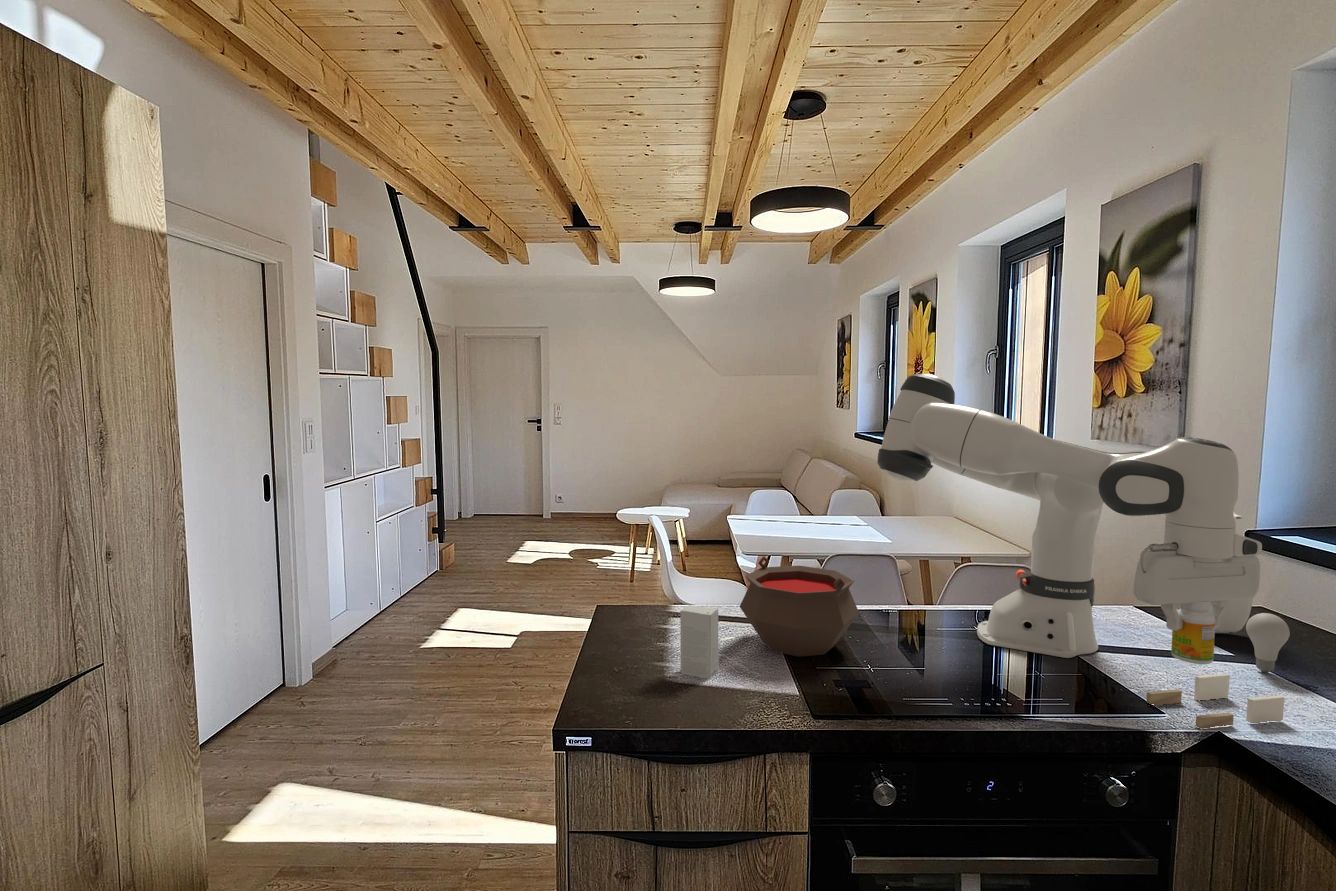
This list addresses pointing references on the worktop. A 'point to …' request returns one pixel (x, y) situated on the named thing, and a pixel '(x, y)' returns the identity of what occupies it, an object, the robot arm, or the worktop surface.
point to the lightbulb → (1267, 638)
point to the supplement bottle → (1195, 634)
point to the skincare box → (699, 641)
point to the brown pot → (799, 608)
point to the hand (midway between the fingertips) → (1193, 628)
